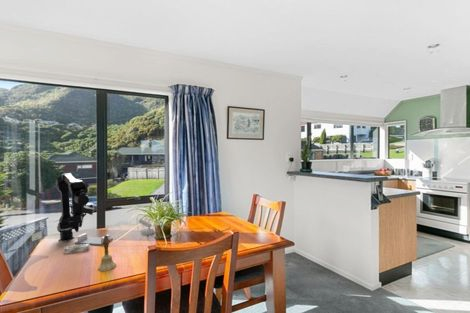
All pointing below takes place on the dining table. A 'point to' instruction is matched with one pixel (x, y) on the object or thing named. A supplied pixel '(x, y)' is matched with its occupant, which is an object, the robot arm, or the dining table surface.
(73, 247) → the frame
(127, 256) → the dining table surface
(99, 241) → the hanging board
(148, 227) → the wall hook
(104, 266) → the hand bell
